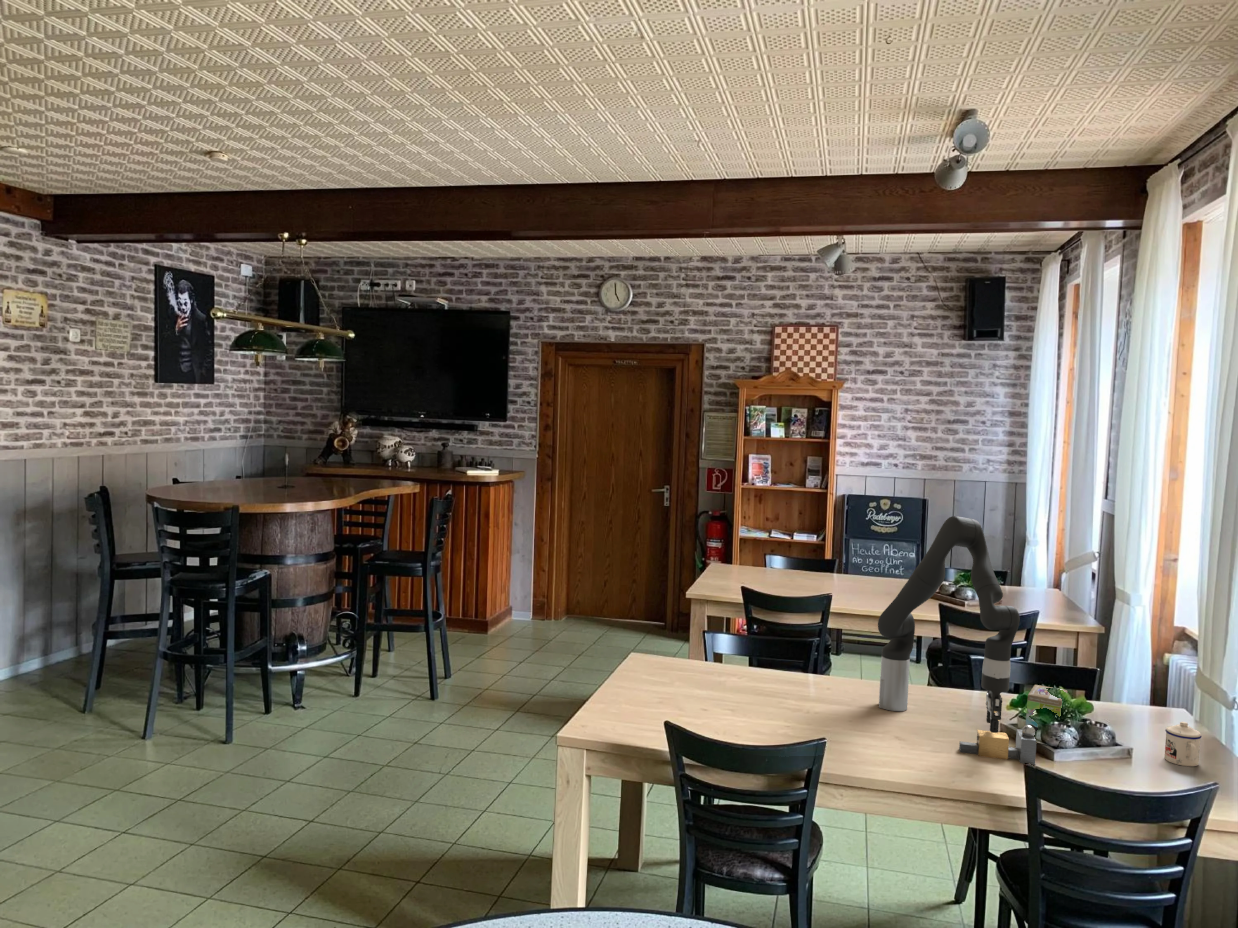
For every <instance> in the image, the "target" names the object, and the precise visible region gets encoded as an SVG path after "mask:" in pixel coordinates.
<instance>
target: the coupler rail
mask: <svg viewBox="0 0 1238 928" xmlns="http://www.w3.org/2000/svg"><path fill="white" fill-rule="evenodd" d="M1034 735H1035V729H1034V728H1033V727H1032V726H1030V725H1026V726H1025V725H1024V726H1023V727H1021V729H1018V728H1016V737H1015V747H1012V746H1009V748H1008V759H1015V760H1018V762H1019V764H1025V763H1030V764H1029V765H1036V757H1037V756H1036V755H1037V754H1036V753H1037V743H1036V742H1037V741H1036V739H1035V737H1034ZM958 746H959V747H958V750H959V753H964V754H966V753H967V754H973V755H978V749H979V745H978V743H977V742H971V741H970V742H969V741H962V740H961V741H959V745H958Z"/></svg>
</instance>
